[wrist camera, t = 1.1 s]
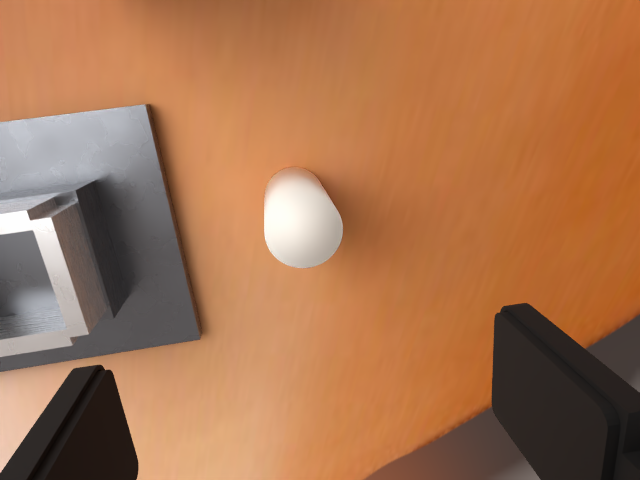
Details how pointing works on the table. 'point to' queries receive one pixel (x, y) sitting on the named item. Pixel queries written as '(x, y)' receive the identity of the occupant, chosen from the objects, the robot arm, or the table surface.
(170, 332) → the bracket
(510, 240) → the table surface
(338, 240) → the white cylinder
